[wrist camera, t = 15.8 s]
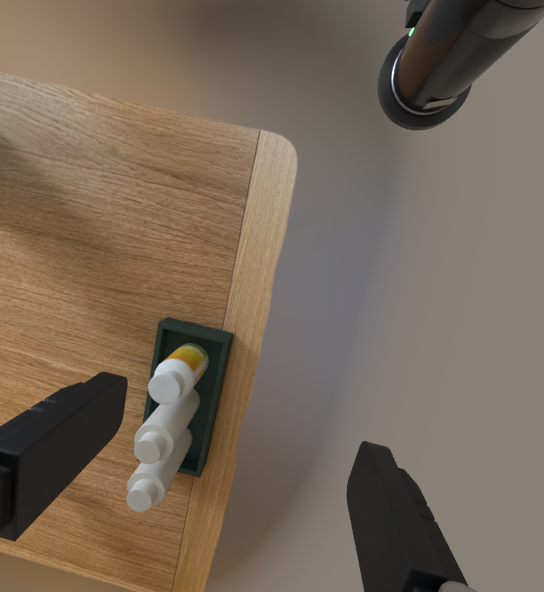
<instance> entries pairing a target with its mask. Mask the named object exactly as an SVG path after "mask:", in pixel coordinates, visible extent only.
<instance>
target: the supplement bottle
mask: <svg viewBox="0 0 544 592" xmlns="http://www.w3.org/2000/svg"><path fill="white" fill-rule="evenodd" d="M208 364H209V358H208V355H207V353H206V351H205V350H204V349H203V348H202V347H201V346H199V345H197V344H193V343H188V344H184V345H182V346H181V347H179V348H178V349H177V350H176V351H175V352H173V353H172V354H171V355H170V356H169V357H168V358H166V359H165V360H164V361H163V362H162V363H161V364H159V366H158V367H157V368H156V370H155V373H154V377H153V378H152V379H151V380H150V382H149V385H148V391H149V394H150V396H151V397H152V398H153V399H154V400H155V401H156V402H158V403H160V404H165V405H167V404H172V403H174V402H175V401H176V400H177V399H178V398H181V397H184V396H185V395H187V394H188V393H189V392H190V391H191V390H192V389H193V387H194V386H195V384H196V383H197V382H198V380H199V379H200V378H201V376H202V375H203V374H204V372H205V371H206V369H207V367H208Z"/></svg>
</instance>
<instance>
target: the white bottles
mask: <svg viewBox="0 0 544 592" xmlns="http://www.w3.org/2000/svg"><path fill="white" fill-rule="evenodd" d="M199 405H200V397H199V394H198V392H197V391H196V390H195V389H194V388H193V389H192V390H191V391H190V392H189V393H188V394H187V395H185V396H184V397H181V398H178V399H177V400H176V401H175V402H174V403H172V404H167V405H165V404H160V405H159V406H158V407H157V409H156V410H155V411H154V412H153V413H152V414H151V416H150V417H149V418H148V419H147V420H146V421H145V423H144V424H143V425H142V426H141V427H140V429H139V430H138V431H137V433H136V435H135V440H134V441H135V448H134V453H135V456H136V458H137V459H138V460H139V461H140V462H141V464H140V465H139V466H138V468H137V469H136V471H135V472H134V474H133V475H132V476H131V478H130V479H129V481H128V484H127V490H128V495H127V503H128V505H129V507H130V508H131V509H133V510H135V511H137V512H145V511H147V510H148V509H150V507H151V506H155V505H157V504H159V503H160V502H161V501H162V500H163V498H164V496H165V494H166V492H167V490H168V488H169V487H170V485H171V483H172V481H173V479H174V477H175V475H176V473H177V471H178V469H179V467H180V465H181V463H182V461H183V460H184V458H185V456H186V454H187V452H188V450H189V448H190V446H191V444H192V440H193V438H192V434H191V432H190V430H189V429H188V428H187V426H188V424H189V422H190V421H191V419H192V417H193V416H194V414H195V412H196V411H197V409H198V407H199Z"/></svg>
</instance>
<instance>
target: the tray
mask: <svg viewBox="0 0 544 592" xmlns="http://www.w3.org/2000/svg"><path fill="white" fill-rule="evenodd" d="M233 335H234V334H233V333H230V332H226V331H222V330H218V329H213V328H209V327H205V326H201V325H197V324H193V323H189V322H185V321H181V320H177V319H173V318H169V317H167V318H165V319H164V320H162V321H160V322H159V324H158V330H157V336H156V343H155V349H154V355H153V361H152V368H151V374H150V380H151V379H152V378H153V377H154V373H155V370H156V368H157V367H158V366H159V364H161V363H162V362H163V361H164V360H165V359H166V358H168V357H169V356H170V355H171V354H172V353H173V352H175V351H176V350H177V349H178V348H179V347H181V346H182V345H184V344H188V343H193V344H197V345H199V346H201V347H202V348H203V349H204V350H205V351H206V353H207V355H208V358H209V364H208V367H207V369H206V371H205V372H204V374H203V375H202V376H201V378H200V379H199V380H198V382H197V383H196V384H195V386H194V387H193V388H194V389H195V390H196V391H197V392H198V394H199V397H200V405H199V407H198V409H197V411H196V412H195V414H194V416H193V417H192V419H191V421H190V422H189V424H188V426H187V428H188V429H189V430H190V432H191V434H192V438H193V440H192V444H191V446H190V448H189V450H188V452H187V454H186V456H185V458H184V460H183V461H182V463H181V465H180V467H179V469H178V472H182V473H186V474H189V475H193V476H197V477H201V474H202V472H203V469H204V467H205V465H206V461H207V456H208V452H209V447H210V442H211V438H212V433H213V428H214V424H215V419H216V414H217V410H218V405H219V400H220V396H221V391H222V386H223V382H224V377H225V372H226V368H227V363H228V358H229V353H230V349H231V344H232V339H233ZM150 380H149V382H150ZM159 405H160V403H158V402H156V401H155V400H154V399H153V398H152V397H151V396H150V394H149V391H148V393H147V399H146V406H145V412H144V418H143V424H144V423H145V421H146V420H147V419H148V418H149V417H150V416H151V414H152V413H153V412H154V411H155V410H156V409H157V407H158V406H159ZM143 424H142V425H143ZM137 461H139V460H138V459H137Z"/></svg>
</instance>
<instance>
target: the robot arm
mask: <svg viewBox="0 0 544 592" xmlns="http://www.w3.org/2000/svg"><path fill="white" fill-rule="evenodd" d="M406 1H407V0H406ZM543 18H544V0H411V1H410V3H409V5H408V8H407V13H406V26H405V28H412V30H411V32H410V34H409V35H408V37H407V39H406V41H405V46H404V47H403V49H402V50H401V52H400V53H399V55H398V57H397V58H396V60H395V62H394V64H393V67H392V70H391V74H390V90H391V94H392V97H393V99H394V101H395V102H396V104H397V105H398V106H399V107H400V108H401V109H402V110H403V111H404V112H406V113H408V114H410V115H413V116H418V117H426V116H431V115H434V114H437V113H439V112H441V111H442V110H444V109H445V108H447V107H448V106H449V105H450V104H451V103H453V102H454V101H455V100H456V99H457V97H458V96H459V95H460V94H461V93H462V92H463V91H464V90H465V89H467V88H468V87H469V86H470V85H471V84H472V83H473V82H474V81H475V80H476V79H477V78H479V76H481V75H482V74H483V73H484V72H485V71H486V70H487V69H488V68H489V67H490V66H491V65H493V64H494V63H495V62H496V61H497V60H498V59H499V58H500V57H501V56H502V55H503V54H505V53H506V52H507V51H508V50H509V49H510V48H511V47H512V46H513V45H514V44H516V43H517V42H518V41H519V40H520V39H521V38H522V37H523V36H524V35H525V34H526V33H528V32H529V31H530V30H531V29H532V28H533V27H534V26H535V25H536V24H537V23H538V22H539V21H540V20H541V19H543ZM127 384H128V381H127V378H126V377H123V376H119V375H115V374H112V373H108V372H101V373H99V374H97V375H96V376H94V377H93V378H91V379H90V380H88V381H87V382H85V383H82V382H80V383H77V384H74V385H71V386H68V387H65V388H62V389H60V390H59V391H57V392H55V393H54V394H52V395H50V396H49V397H47V398H46V399H45V400H44V401H41V402H39V403H37V404H36V405H34V406H33V407H31V409H30V410H26V411H24V412H23V413H21V414H20V415H18V416H16V417H15V418H13V419H12V420H10V421H8V422H7V423H5V424H3V425H2V426H0V537H1V538H4V539H8V540H11V541H14V542H15V541H16V540H17V539H18V538H19V537H20V535H21V534H22V533H23V532H24V531H25V530H26V529H27V528H28V527H29V526H30V525H31V524H32V523H33V522H34V521H35V520H36V519H37V517H38V516H39V515H40V514H41V513H42V512H43V511H44V510H45V509H46V508H47V507H48V506H49V505H50V504H51V503H52V502H53V501H54V500H55V498H56V497H57V496H58V495H59V494H60V493H61V492H62V491H63V490H64V489H65V488H66V487H67V486H68V485H69V484H70V483H71V482H72V481H73V479H74V478H75V477H76V476H77V475H78V474H79V473H80V472H81V471H82V470H83V469H84V468H85V467H86V466H87V465H88V464H89V463H90V461H91V460H92V459H93V458H94V457H95V456H96V455H97V454H98V453H99V452H100V451H101V450H102V449H103V448H104V447H105V446H106V445H107V444H108V442H109V441H110V440H111V439H112V438H113V437H114V436H115V434H116V433H117V431H118V429H119V427H120V425H121V423H122V419H123V414H124V407H125V399H126V392H127ZM347 504H348V510H349V515H350V520H351V525H352V530H353V535H354V541H355V546H356V551H357V555H358V561H359V566H360V571H361V577H362V582H363V586H364V592H477V591H475V590H474V589H472V588H470V587H469V586H468V584H467V582H466V580H465V578H464V576H463V574H462V572H461V570H460V568H459V566H458V564H457V563H456V560H455V558H454V556H453V554H452V552H451V550H450V548H449V546H448V544H447V542H446V540H445V538H444V537H443V534H442V532H441V530H440V528H439V526H438V524H437V522H435V521H434V516H433V514H432V512H431V510H430V508H429V507H428V506H427V502H426V500H425V498H424V496H423V494H422V492H421V490H420V488H419V486H418V485H417V484H416V483H415V481H414V480H413V479H412V478H411V477H410V476H409V474H408V473H407V472H406V471H405V470H404V469H401V468H398V467H397V464H396V462H395V460H394V458H393V455H392V453H391V451H390V449H389V448H388V447H385V446H382V445H378V444H374V443H370V442H367V441H363V442H362V443H361V445H360V447H359V450H358V453H357V456H356V459H355V462H354V465H353V468H352V471H351V474H350V477H349V480H348V484H347Z"/></svg>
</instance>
